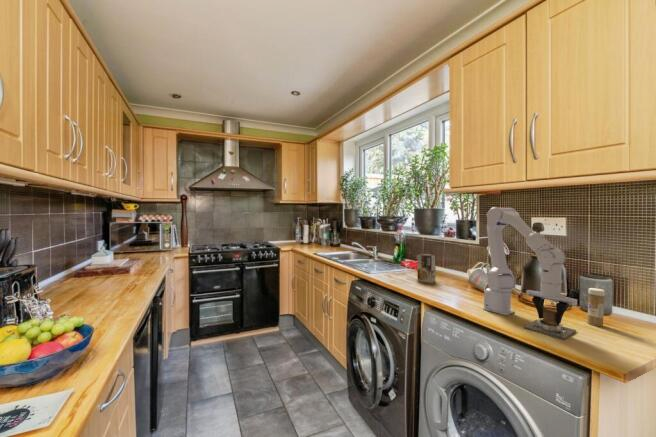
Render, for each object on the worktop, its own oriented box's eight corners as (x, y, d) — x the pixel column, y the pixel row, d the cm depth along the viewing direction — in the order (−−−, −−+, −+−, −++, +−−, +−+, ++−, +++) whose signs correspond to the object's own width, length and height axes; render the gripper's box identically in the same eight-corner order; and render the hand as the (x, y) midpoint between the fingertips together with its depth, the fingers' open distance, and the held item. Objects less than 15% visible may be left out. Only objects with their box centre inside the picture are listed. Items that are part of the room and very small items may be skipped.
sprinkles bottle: (583, 322, 110) (585, 287, 110) (594, 322, 111) (595, 287, 111) (596, 327, 106) (597, 290, 106) (607, 326, 106) (608, 290, 106)
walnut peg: (540, 329, 103) (541, 310, 103) (544, 327, 106) (545, 308, 105) (554, 333, 100) (554, 313, 100) (558, 330, 102) (558, 311, 102)
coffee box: (435, 281, 174) (436, 255, 174) (431, 283, 169) (431, 256, 169) (421, 279, 180) (422, 253, 180) (416, 280, 176) (417, 254, 175)
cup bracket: (523, 327, 104) (523, 321, 104) (536, 321, 111) (536, 314, 111) (564, 340, 94) (564, 332, 94) (576, 331, 101) (576, 324, 101)
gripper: (580, 285, 99) (579, 324, 99) (531, 277, 111) (530, 312, 111) (574, 288, 95) (572, 329, 95) (524, 279, 107) (523, 315, 107)
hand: (549, 320), depth 103 cm, fingers open, 5 cm apart
